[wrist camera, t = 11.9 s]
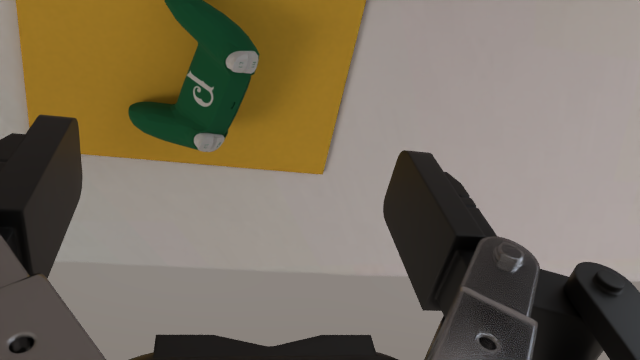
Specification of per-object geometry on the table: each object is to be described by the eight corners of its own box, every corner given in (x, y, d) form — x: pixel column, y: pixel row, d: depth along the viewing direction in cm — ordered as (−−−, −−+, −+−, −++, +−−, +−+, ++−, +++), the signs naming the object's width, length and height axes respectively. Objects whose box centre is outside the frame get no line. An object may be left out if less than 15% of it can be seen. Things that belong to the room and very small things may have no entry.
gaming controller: (163, 114, 35) (223, 164, 33) (118, 119, 32) (181, 174, 30) (209, -10, 31) (279, 39, 29) (163, -19, 28) (239, 35, 26)
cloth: (368, -16, 31) (370, -15, 31) (321, 172, 38) (322, 174, 38) (8, -85, 26) (6, -85, 26) (33, 147, 33) (31, 150, 33)
